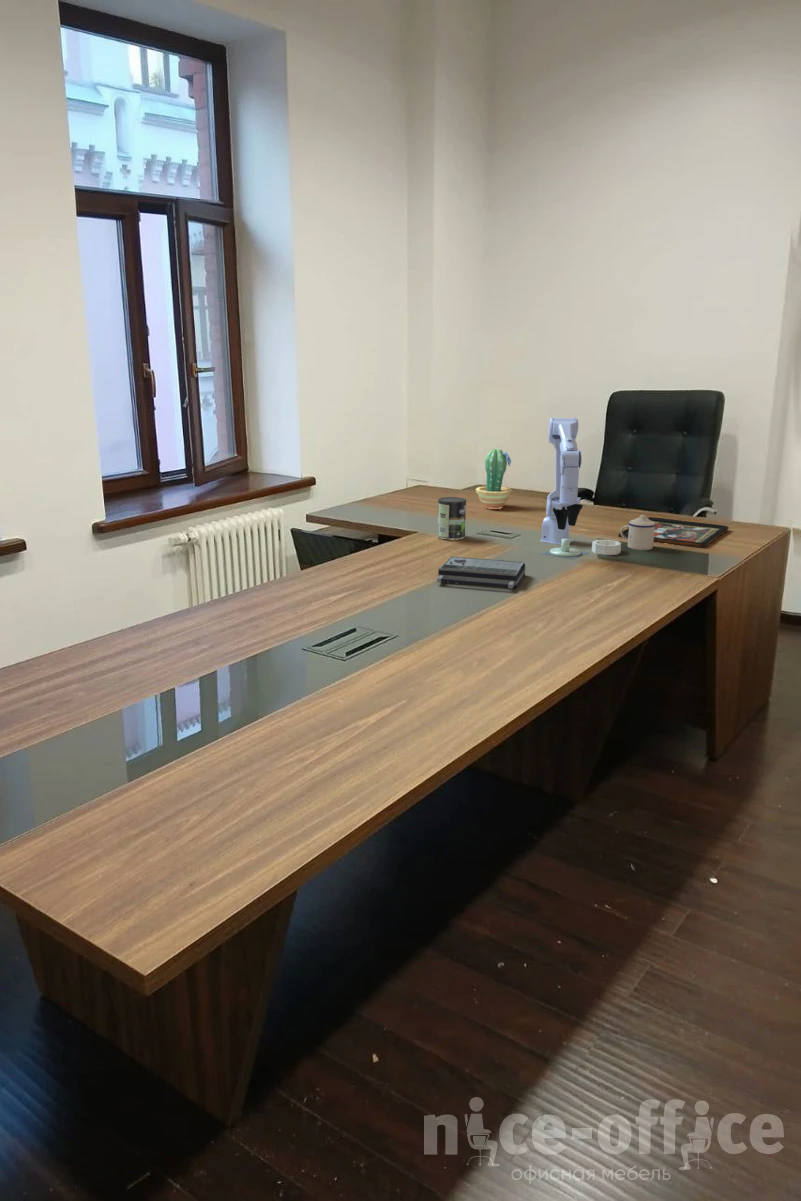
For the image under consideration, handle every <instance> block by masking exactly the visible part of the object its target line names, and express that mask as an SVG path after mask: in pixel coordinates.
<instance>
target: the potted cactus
mask: <svg viewBox="0 0 801 1201" xmlns="http://www.w3.org/2000/svg"><path fill="white" fill-rule="evenodd" d="M511 463H512V459H511V457H510V456H509V453H508V452H507V451H506V452H505V451H503V450H502V449H500V448H497V449H496V448H493V449H491V450H490V451H489V452H488V453H487V454H486V456H485V458H484V468H485V472H486V483H485V485H486V486H478V487H476V488H475V492H476V494H477V496H478V498H479V501H480V502H481V504H482V507H483V506H485V507H492V508H499V507H503V506H505V504H506V503H507V501H508V499H509V496H510V495H511V494H512V492H513V490H512V489H511V488H510V487H505V486H503V479H504V475H505V474H506V473H505V472H506V471H507V467H510V466H511ZM507 465H508V466H507Z"/></svg>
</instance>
